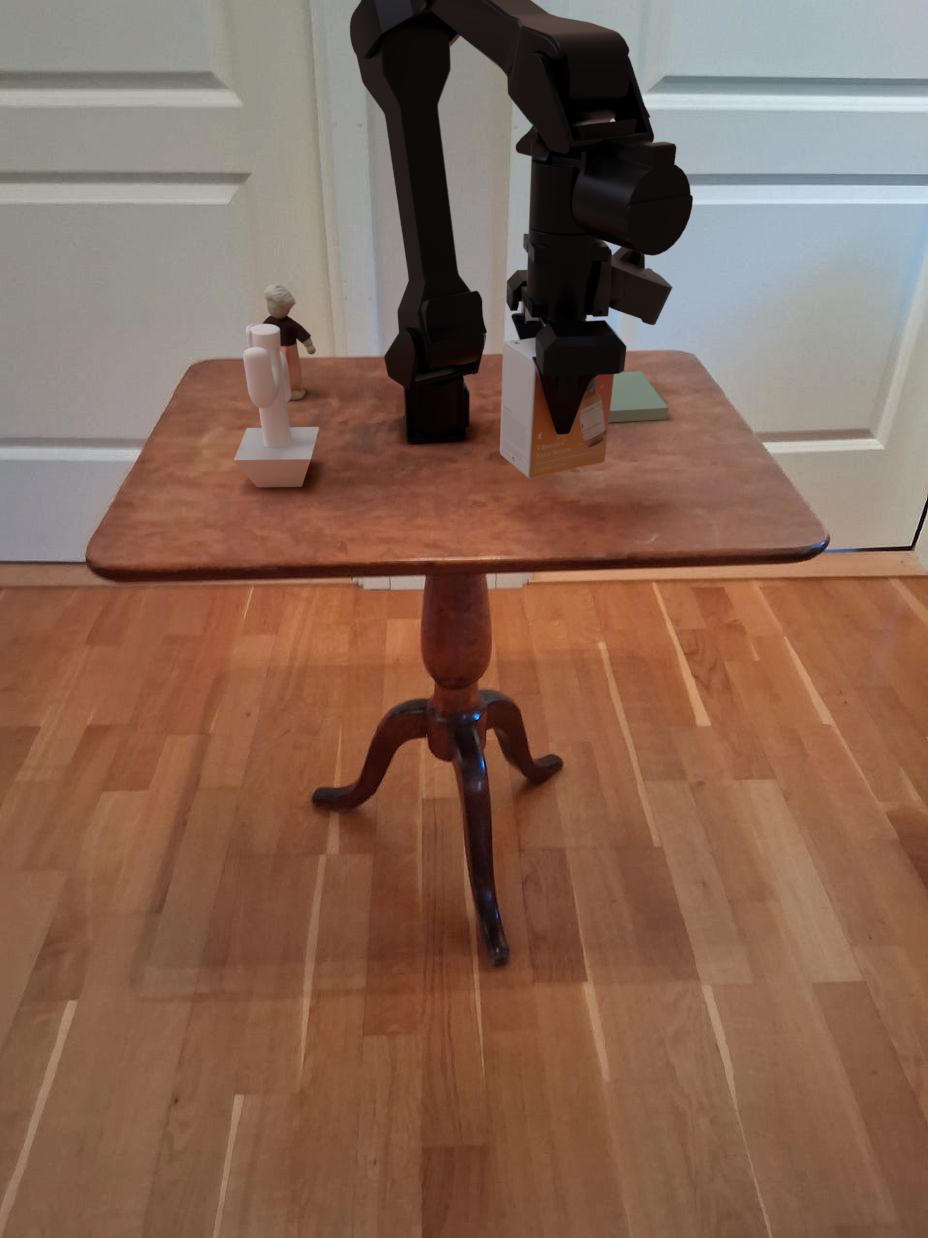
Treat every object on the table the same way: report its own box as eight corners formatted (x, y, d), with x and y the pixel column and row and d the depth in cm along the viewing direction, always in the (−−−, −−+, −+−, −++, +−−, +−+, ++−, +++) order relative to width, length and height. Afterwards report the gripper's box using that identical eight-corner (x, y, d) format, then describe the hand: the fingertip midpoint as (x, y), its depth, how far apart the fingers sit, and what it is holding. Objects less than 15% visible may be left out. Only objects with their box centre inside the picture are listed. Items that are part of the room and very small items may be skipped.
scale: (536, 426, 98) (537, 400, 97) (520, 388, 107) (520, 363, 105) (667, 419, 100) (670, 393, 98) (640, 382, 108) (642, 357, 107)
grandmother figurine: (254, 398, 105) (237, 287, 98) (266, 386, 108) (251, 278, 101) (315, 403, 104) (303, 292, 96) (327, 391, 107) (316, 282, 99)
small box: (528, 481, 77) (533, 362, 71) (498, 454, 81) (500, 340, 75) (606, 462, 80) (619, 346, 73) (574, 437, 84) (582, 325, 77)
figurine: (324, 455, 93) (308, 309, 84) (313, 499, 85) (295, 343, 76) (254, 456, 93) (231, 310, 84) (237, 500, 85) (210, 344, 76)
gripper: (708, 254, 62) (677, 459, 71) (635, 196, 77) (617, 372, 86) (550, 260, 61) (539, 467, 70) (507, 200, 76) (503, 378, 85)
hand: (554, 417), depth 78 cm, fingers closed on small box, 6 cm apart
